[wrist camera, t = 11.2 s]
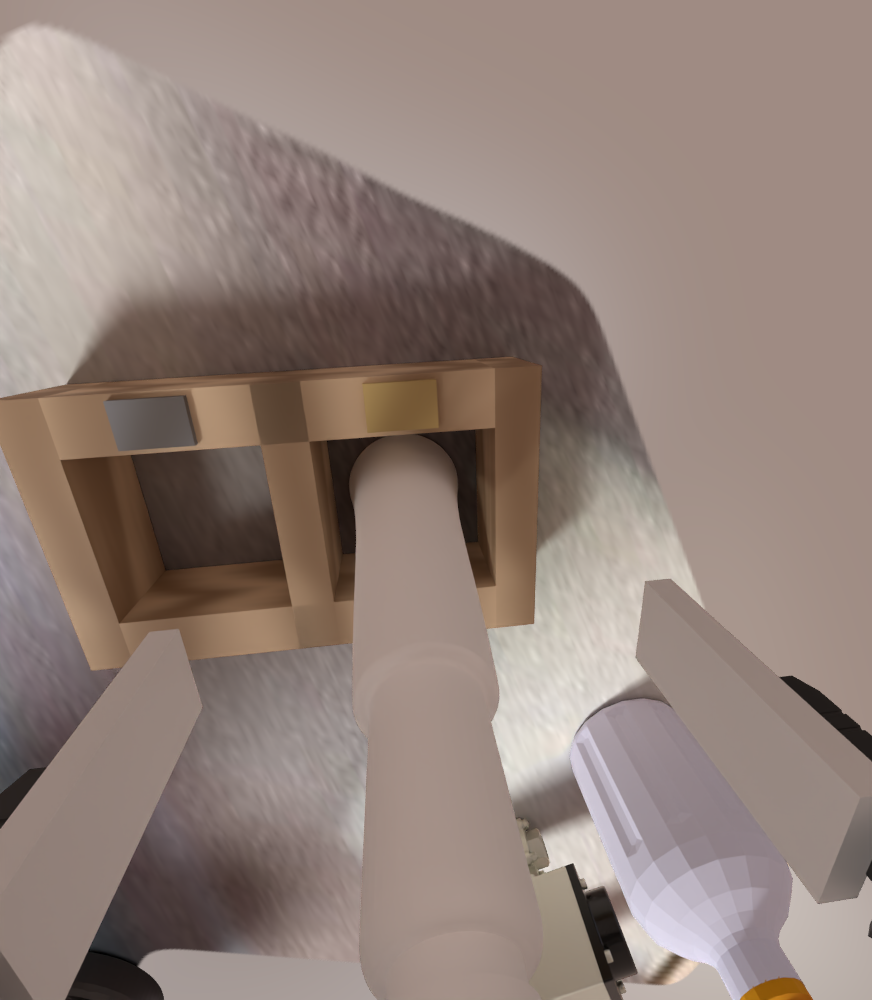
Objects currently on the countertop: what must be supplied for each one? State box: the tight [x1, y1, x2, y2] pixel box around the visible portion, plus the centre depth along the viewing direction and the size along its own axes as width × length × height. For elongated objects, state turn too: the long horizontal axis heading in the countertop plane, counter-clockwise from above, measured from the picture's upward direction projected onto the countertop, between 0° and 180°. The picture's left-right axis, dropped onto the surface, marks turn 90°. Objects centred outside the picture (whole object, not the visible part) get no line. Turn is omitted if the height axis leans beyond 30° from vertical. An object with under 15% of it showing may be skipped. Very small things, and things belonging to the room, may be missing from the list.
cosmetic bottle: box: [349, 434, 543, 1000], centre depth 16 cm, size 6×6×22 cm
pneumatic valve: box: [516, 818, 637, 1000], centre depth 32 cm, size 6×12×12 cm, turn 110°
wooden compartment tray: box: [0, 357, 542, 671], centre depth 23 cm, size 22×13×5 cm, turn 93°
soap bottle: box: [570, 698, 813, 1000], centre depth 24 cm, size 9×9×25 cm
